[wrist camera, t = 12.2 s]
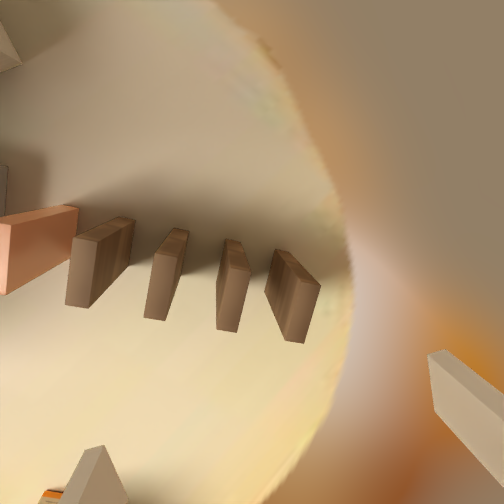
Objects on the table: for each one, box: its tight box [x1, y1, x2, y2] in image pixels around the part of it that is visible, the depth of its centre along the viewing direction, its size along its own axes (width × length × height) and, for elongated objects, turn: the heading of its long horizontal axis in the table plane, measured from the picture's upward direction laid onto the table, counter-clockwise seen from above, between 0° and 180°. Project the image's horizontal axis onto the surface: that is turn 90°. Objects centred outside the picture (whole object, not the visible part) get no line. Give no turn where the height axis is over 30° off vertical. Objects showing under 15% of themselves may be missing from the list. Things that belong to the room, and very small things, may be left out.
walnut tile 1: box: [264, 249, 321, 344], centre depth 30 cm, size 2×5×11 cm, turn 166°
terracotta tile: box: [0, 205, 79, 295], centre depth 27 cm, size 2×5×11 cm, turn 167°
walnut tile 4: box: [65, 217, 135, 309], centre depth 28 cm, size 2×5×11 cm, turn 166°
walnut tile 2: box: [216, 239, 251, 333], centre depth 30 cm, size 2×5×11 cm, turn 167°
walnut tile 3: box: [144, 228, 189, 321], centre depth 29 cm, size 2×5×11 cm, turn 166°
